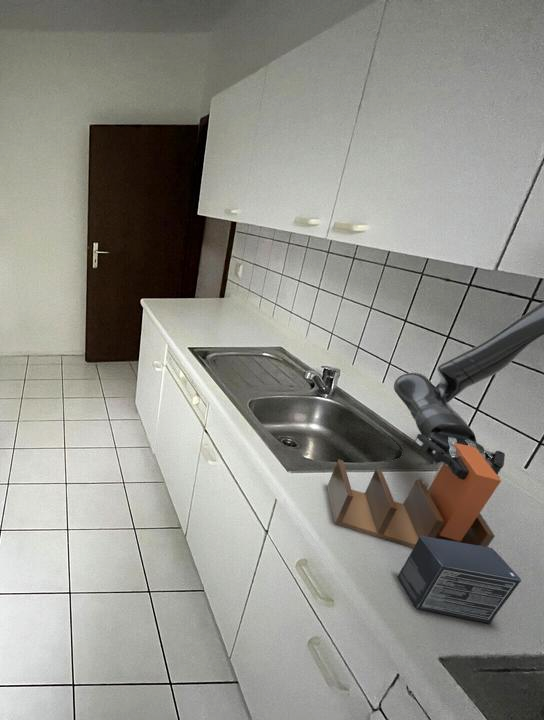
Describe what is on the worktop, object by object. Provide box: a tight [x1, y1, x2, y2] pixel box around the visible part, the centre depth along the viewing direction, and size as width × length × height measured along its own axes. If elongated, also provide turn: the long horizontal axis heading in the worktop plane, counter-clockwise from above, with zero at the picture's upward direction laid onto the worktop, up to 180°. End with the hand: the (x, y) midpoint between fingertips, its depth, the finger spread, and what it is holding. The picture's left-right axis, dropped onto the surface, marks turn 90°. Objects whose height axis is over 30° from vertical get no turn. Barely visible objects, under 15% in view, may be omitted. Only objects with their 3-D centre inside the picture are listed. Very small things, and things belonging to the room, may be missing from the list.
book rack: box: [326, 459, 495, 549], centre depth 79 cm, size 22×12×8 cm, turn 65°
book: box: [426, 443, 502, 541], centre depth 74 cm, size 3×10×15 cm, turn 155°
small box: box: [397, 536, 523, 624], centre depth 63 cm, size 11×6×10 cm, turn 77°
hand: (478, 478), depth 69 cm, fingers closed on book, 3 cm apart
